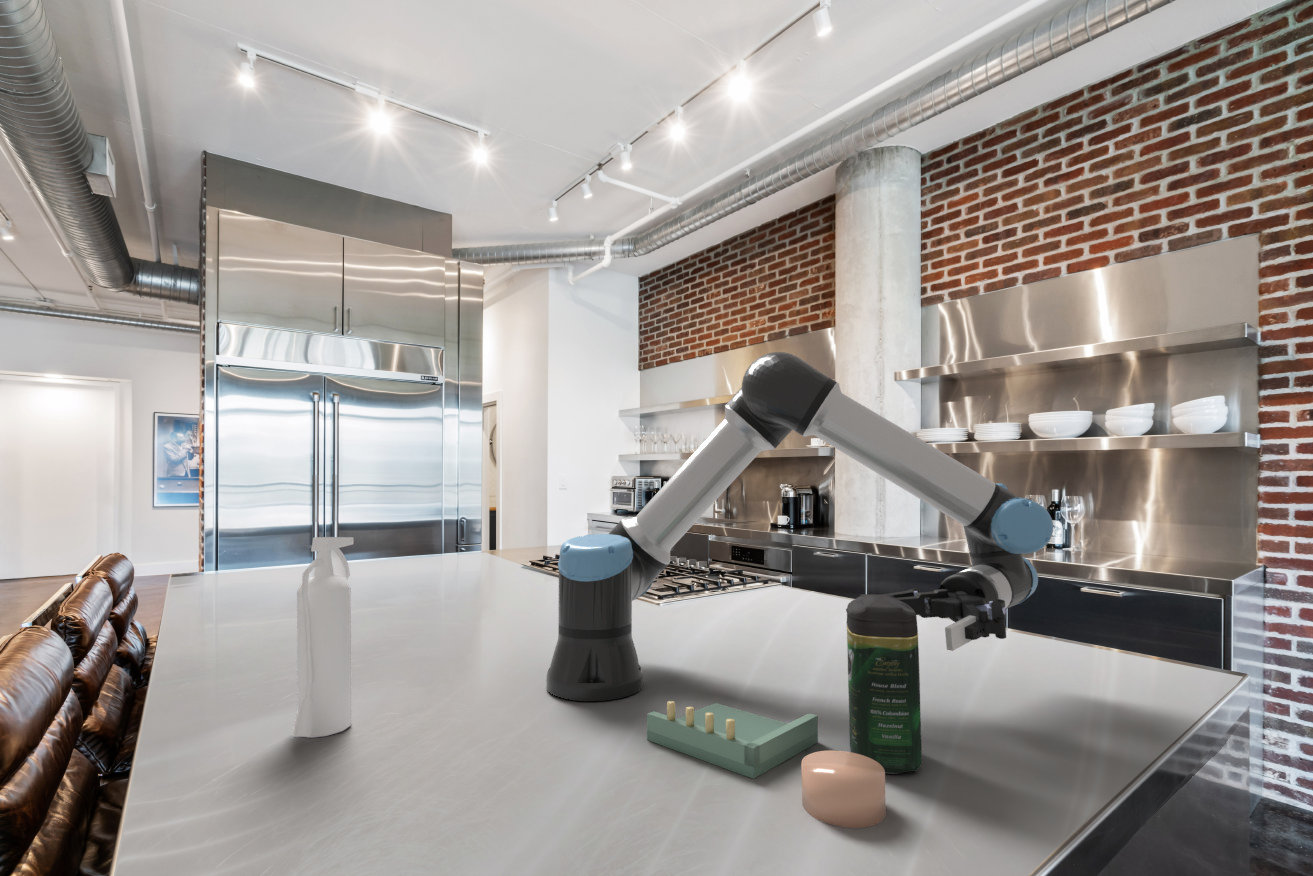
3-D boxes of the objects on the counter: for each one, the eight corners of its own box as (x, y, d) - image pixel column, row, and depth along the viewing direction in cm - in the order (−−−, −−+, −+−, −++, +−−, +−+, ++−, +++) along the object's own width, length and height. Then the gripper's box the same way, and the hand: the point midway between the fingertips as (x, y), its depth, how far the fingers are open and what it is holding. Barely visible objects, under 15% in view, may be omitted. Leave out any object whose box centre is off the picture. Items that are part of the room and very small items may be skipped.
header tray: (647, 739, 82) (647, 697, 82) (715, 711, 92) (715, 673, 92) (753, 778, 71) (753, 729, 71) (817, 742, 81) (817, 699, 82)
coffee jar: (929, 780, 71) (922, 606, 72) (853, 774, 72) (847, 604, 73) (914, 743, 80) (909, 590, 81) (847, 739, 82) (842, 589, 83)
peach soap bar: (786, 809, 65) (786, 767, 65) (826, 782, 71) (825, 744, 71) (863, 838, 59) (862, 793, 60) (899, 807, 65) (898, 765, 65)
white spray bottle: (262, 749, 79) (271, 540, 80) (320, 714, 91) (326, 533, 93) (316, 751, 78) (324, 540, 80) (367, 715, 90) (373, 533, 92)
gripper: (1068, 634, 89) (999, 680, 75) (899, 608, 108) (820, 641, 94) (1063, 579, 89) (994, 615, 75) (895, 562, 108) (816, 589, 94)
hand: (897, 629), depth 85 cm, fingers open, 13 cm apart
